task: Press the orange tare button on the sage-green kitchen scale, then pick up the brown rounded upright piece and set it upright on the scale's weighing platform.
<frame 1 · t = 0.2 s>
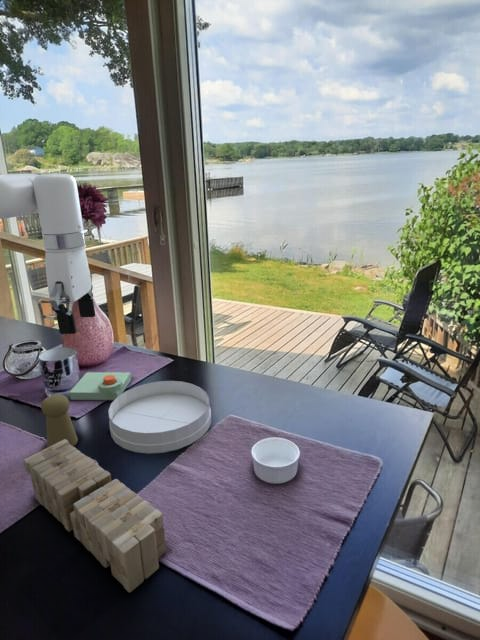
hand: (78, 324, 91), 24 cm above the table, tool pointing down, fingers open, 9 cm apart
dish: (161, 424, 98), on the table
brown rounded upright piece: (63, 445, 92), on the table
tare button: (109, 380, 109), point 4 cm above the table, slide at 0.2 cm
scale: (102, 390, 113), on the table
block tower: (96, 526, 71), on the table
ramekin: (275, 471, 82), on the table
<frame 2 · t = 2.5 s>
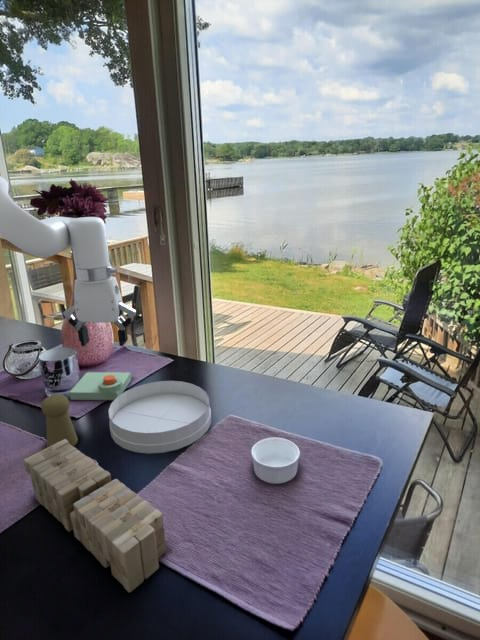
hand: (104, 343, 105), 14 cm above the table, tool pointing down, fingers open, 8 cm apart
nothing on the table moved.
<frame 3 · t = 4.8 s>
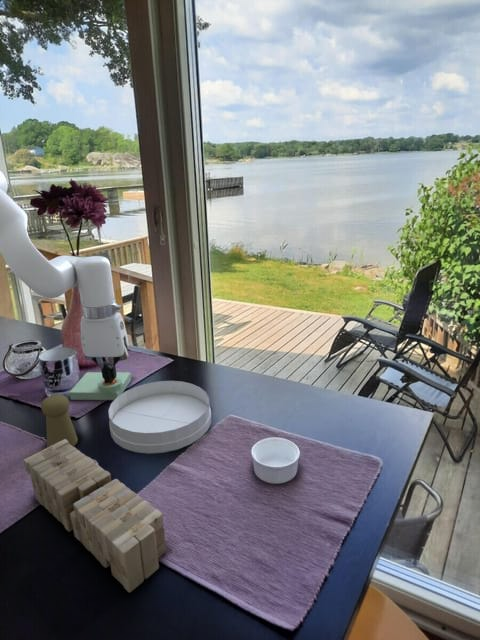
hand: (110, 380, 109), 4 cm above the table, tool pointing down, fingers closed
tare button: (110, 383, 109), point 4 cm above the table, slide at -0.7 cm, touching gripper
everything else where it was.
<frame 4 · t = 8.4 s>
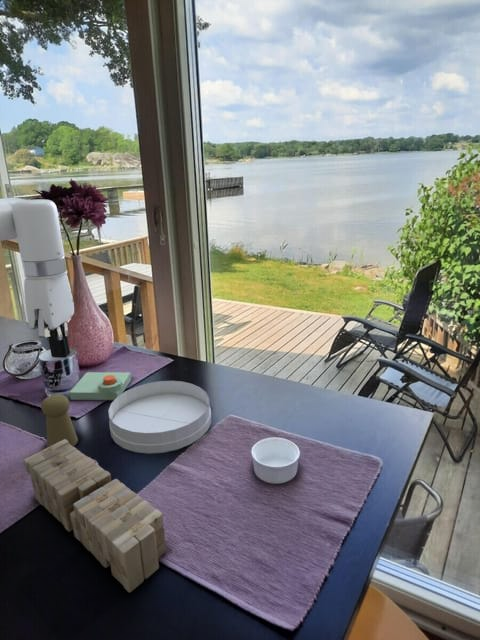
hand: (61, 355, 90), 18 cm above the table, tool pointing down, fingers closed
tare button: (109, 380, 109), point 4 cm above the table, slide at 0.2 cm
everything else where it was.
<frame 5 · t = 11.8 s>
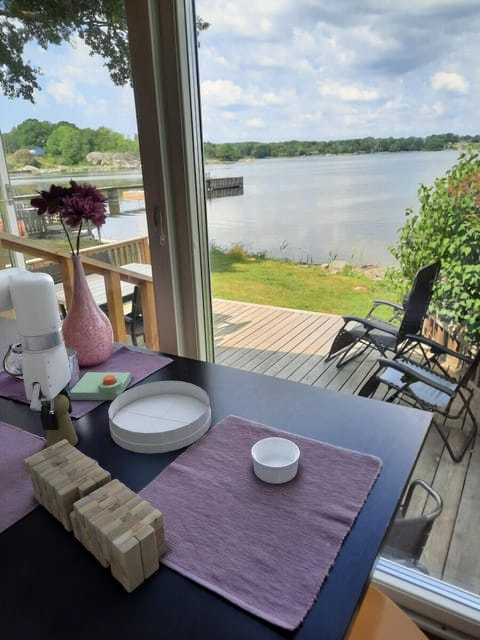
hand: (58, 420, 90), 6 cm above the table, tool pointing down, fingers closed on brown rounded upright piece, 5 cm apart
brown rounded upright piece: (63, 445, 92), on the table, touching gripper
everything else where it was.
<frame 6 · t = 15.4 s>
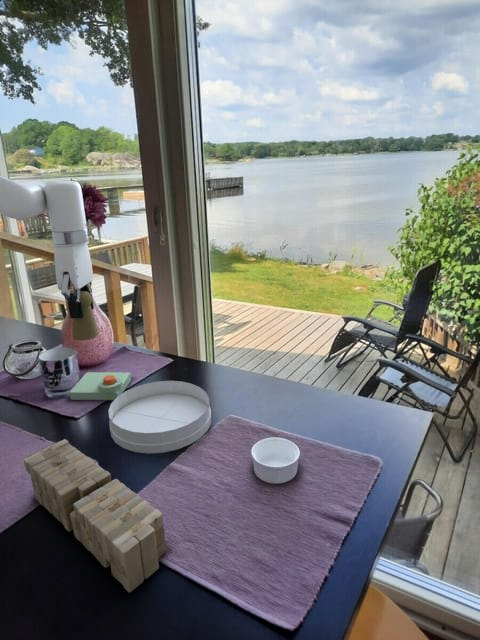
hand: (82, 312, 106), 21 cm above the table, tool pointing down, fingers closed on brown rounded upright piece, 5 cm apart
brown rounded upright piece: (86, 336, 108), point 15 cm above the table, touching gripper
everything else where it was.
when the fingers open (8 cm above the table, at t = 19.0 s): brown rounded upright piece stays where it is, resting on scale.
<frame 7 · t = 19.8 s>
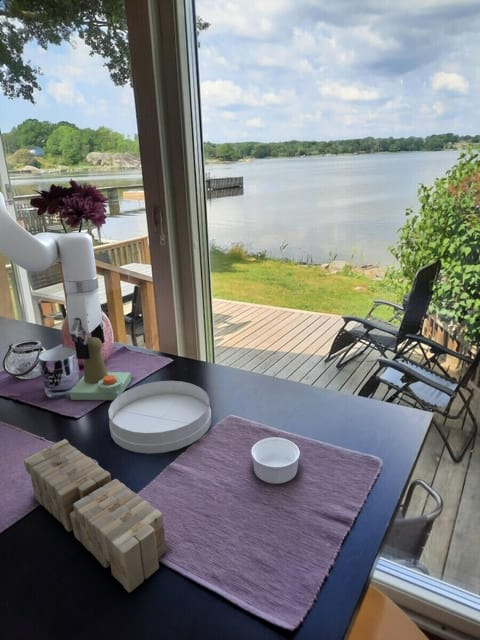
hand: (91, 350, 112), 10 cm above the table, tool pointing down, fingers open, 9 cm apart
brown rounded upright piece: (96, 378, 114), point 2 cm above the table, touching scale
everything else where it was.
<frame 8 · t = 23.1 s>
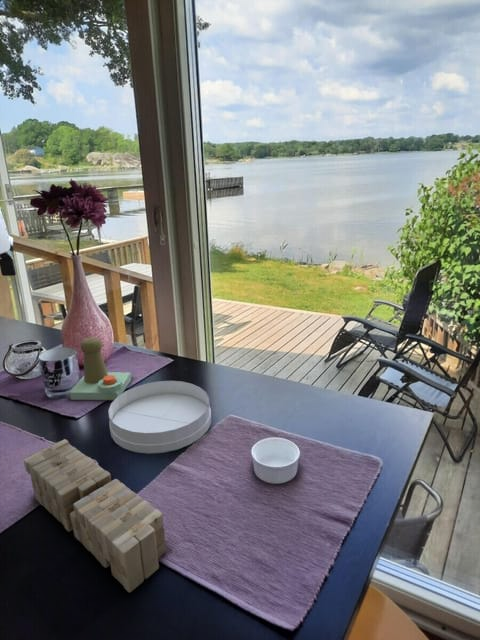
nothing on the table moved.
at the end: tare button pushed in 0.9 cm at the most during the clip, back to 0.2 cm at the end; brown rounded upright piece inside the target area on the scale (2.8 cm from its centre), point 2.2 cm above the scale's base; brown rounded upright piece tilted 0° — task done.
